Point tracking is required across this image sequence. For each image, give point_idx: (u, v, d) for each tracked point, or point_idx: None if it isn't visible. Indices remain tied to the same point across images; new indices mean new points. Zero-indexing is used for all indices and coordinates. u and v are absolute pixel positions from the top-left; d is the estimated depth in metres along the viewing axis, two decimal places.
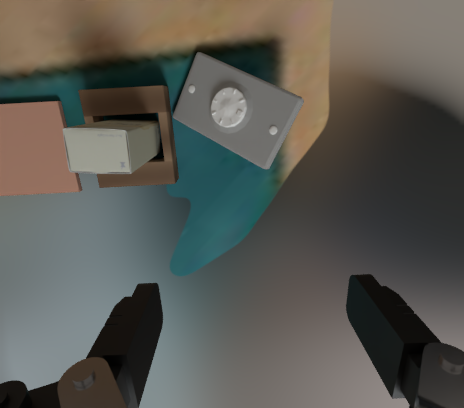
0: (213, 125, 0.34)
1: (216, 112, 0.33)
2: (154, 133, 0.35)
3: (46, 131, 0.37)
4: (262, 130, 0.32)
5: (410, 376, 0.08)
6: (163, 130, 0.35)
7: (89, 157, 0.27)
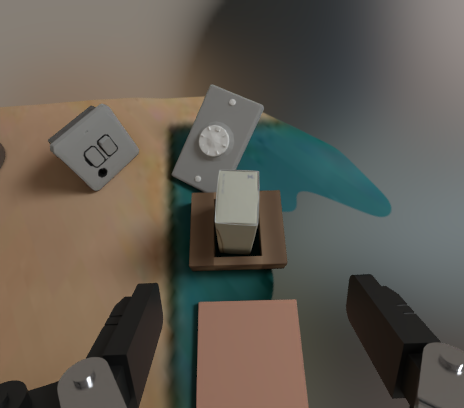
0: (227, 155, 0.40)
1: (216, 150, 0.40)
2: None
3: (228, 322, 0.34)
4: (232, 111, 0.40)
5: (410, 376, 0.08)
6: None
7: (242, 204, 0.28)
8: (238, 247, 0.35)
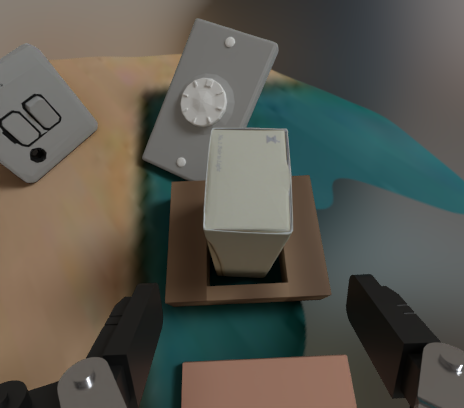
0: (225, 124, 0.26)
1: (208, 116, 0.26)
2: None
3: (233, 399, 0.20)
4: (230, 55, 0.26)
5: (410, 376, 0.08)
6: None
7: (259, 191, 0.14)
8: (247, 269, 0.21)
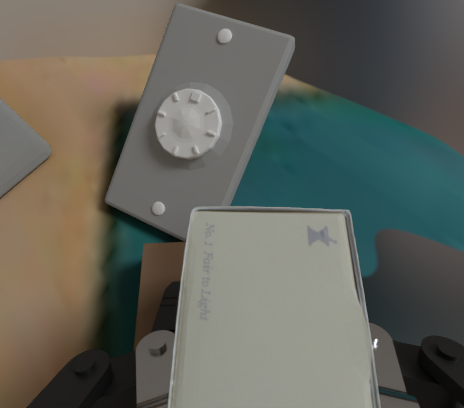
0: (219, 155, 0.18)
1: (194, 144, 0.18)
2: None
3: None
4: (225, 55, 0.18)
5: None
6: None
7: (299, 380, 0.06)
8: None
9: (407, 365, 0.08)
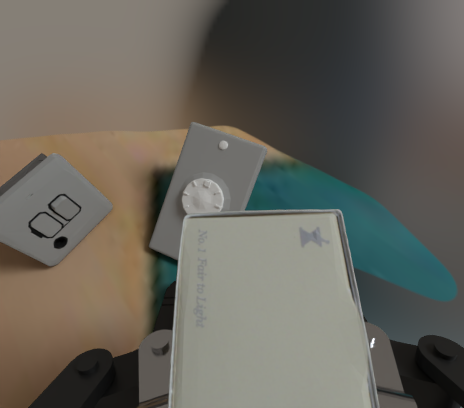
0: None
1: (207, 212, 0.29)
2: None
3: None
4: (224, 157, 0.29)
5: None
6: None
7: (297, 382, 0.06)
8: None
9: (404, 364, 0.08)
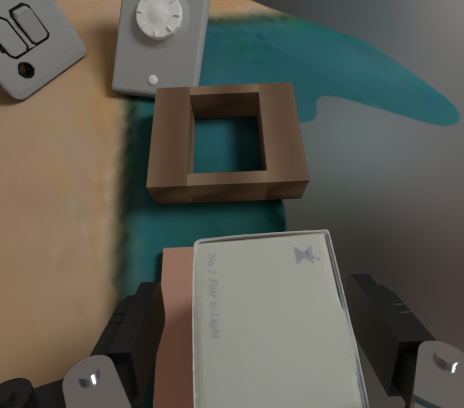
0: (185, 31, 0.27)
1: (167, 25, 0.26)
2: None
3: None
4: None
5: (405, 374, 0.08)
6: (214, 90, 0.25)
7: (300, 379, 0.07)
8: None
9: None
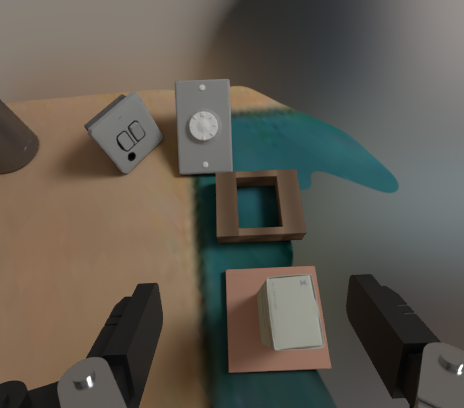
0: (220, 133, 0.44)
1: (210, 132, 0.43)
2: None
3: (253, 286, 0.37)
4: (205, 95, 0.44)
5: (410, 376, 0.08)
6: (250, 174, 0.42)
7: (301, 320, 0.24)
8: None
9: None
